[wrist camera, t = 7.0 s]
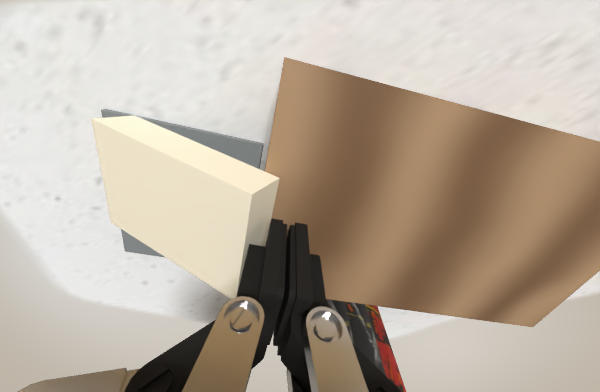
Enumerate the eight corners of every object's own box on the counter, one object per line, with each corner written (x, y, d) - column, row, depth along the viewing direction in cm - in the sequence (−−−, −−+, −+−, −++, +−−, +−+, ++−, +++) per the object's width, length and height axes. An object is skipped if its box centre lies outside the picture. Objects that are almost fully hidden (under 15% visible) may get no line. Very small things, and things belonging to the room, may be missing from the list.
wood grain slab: (612, 145, 14) (715, 172, 11) (491, 281, 20) (532, 327, 17) (287, 58, 12) (284, 57, 8) (254, 242, 17) (244, 287, 14)
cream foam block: (279, 178, 10) (251, 194, 8) (259, 275, 13) (235, 301, 11) (134, 115, 13) (91, 118, 11) (144, 208, 15) (111, 222, 14)
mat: (263, 143, 14) (262, 145, 14) (243, 265, 19) (242, 268, 18) (105, 109, 13) (101, 110, 12) (127, 248, 17) (124, 251, 17)
